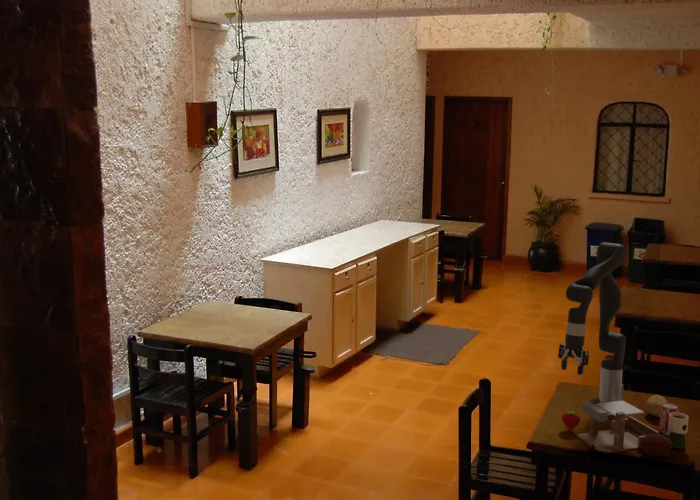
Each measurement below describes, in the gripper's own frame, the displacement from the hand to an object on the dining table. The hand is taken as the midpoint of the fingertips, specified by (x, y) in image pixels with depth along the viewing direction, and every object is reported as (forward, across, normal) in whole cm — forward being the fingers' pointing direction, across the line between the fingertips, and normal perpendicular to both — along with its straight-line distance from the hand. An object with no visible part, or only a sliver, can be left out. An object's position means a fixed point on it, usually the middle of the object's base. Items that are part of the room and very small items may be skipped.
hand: (571, 372), depth 312 cm
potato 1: (+21, -8, -46) cm, 51 cm away
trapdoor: (+13, -18, -5) cm, 22 cm away
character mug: (+23, -34, -25) cm, 48 cm away
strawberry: (+25, -2, -1) cm, 25 cm away
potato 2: (+25, -35, -12) cm, 44 cm away
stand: (+24, -18, -9) cm, 32 cm away
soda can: (+22, -24, -34) cm, 47 cm away
